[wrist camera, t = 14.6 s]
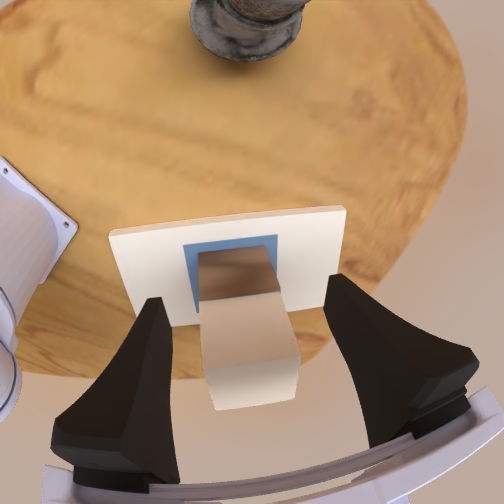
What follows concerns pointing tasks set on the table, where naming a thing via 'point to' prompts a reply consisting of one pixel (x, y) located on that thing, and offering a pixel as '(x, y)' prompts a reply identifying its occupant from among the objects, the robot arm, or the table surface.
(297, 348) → the cream block
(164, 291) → the board
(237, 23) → the grey tall round piece
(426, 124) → the table surface
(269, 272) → the walnut block
